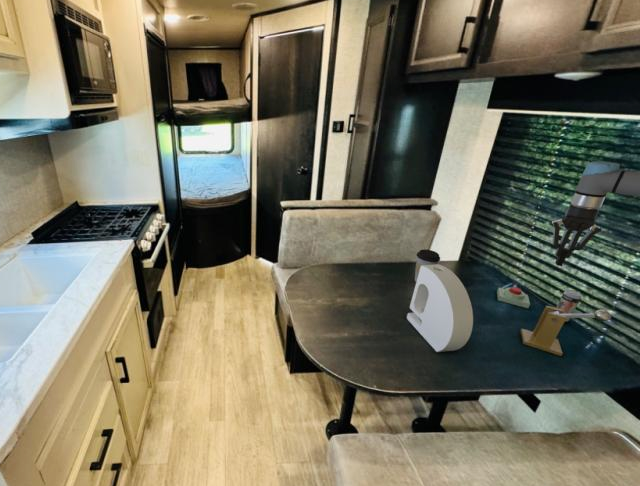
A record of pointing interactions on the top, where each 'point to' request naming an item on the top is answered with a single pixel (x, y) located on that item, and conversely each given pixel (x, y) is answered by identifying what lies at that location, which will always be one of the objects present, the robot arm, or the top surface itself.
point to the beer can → (569, 302)
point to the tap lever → (588, 315)
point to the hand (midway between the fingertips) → (558, 264)
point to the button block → (513, 297)
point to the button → (515, 290)
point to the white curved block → (441, 308)
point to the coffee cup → (426, 260)
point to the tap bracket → (546, 332)
